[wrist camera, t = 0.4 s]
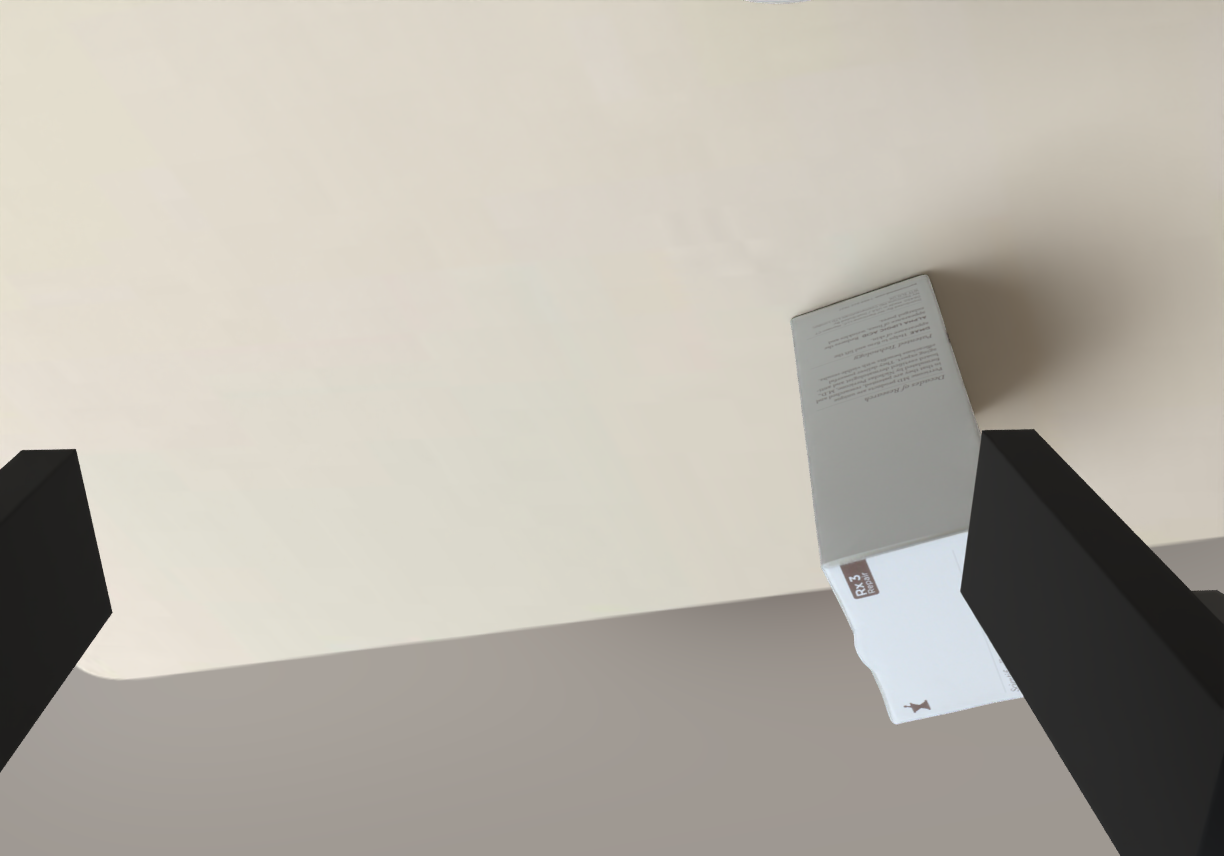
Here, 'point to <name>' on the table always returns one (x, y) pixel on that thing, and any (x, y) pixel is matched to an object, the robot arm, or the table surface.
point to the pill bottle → (777, 1)
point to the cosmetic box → (897, 495)
